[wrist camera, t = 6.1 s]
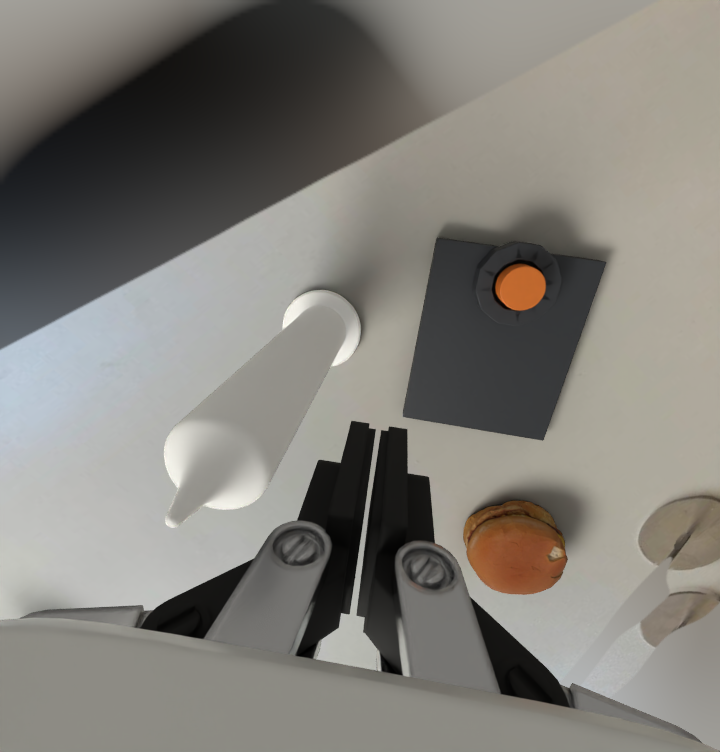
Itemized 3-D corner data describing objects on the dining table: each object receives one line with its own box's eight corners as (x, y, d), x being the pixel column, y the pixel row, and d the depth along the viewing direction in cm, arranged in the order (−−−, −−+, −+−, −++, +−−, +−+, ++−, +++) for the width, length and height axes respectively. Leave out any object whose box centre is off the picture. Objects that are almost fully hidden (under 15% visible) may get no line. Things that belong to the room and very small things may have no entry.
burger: (445, 532, 43) (449, 567, 39) (510, 480, 40) (522, 512, 35) (510, 581, 45) (521, 620, 40) (577, 535, 41) (598, 572, 37)
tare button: (501, 260, 30) (506, 263, 28) (544, 266, 30) (552, 269, 28) (490, 302, 31) (495, 307, 29) (531, 308, 31) (538, 313, 29)
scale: (437, 230, 32) (440, 231, 29) (602, 253, 31) (621, 256, 28) (403, 411, 38) (402, 426, 36) (539, 434, 38) (549, 451, 35)
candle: (360, 367, 37) (281, 612, 14) (286, 363, 38) (95, 590, 15) (361, 290, 34) (267, 438, 11) (282, 288, 35) (41, 420, 12)
